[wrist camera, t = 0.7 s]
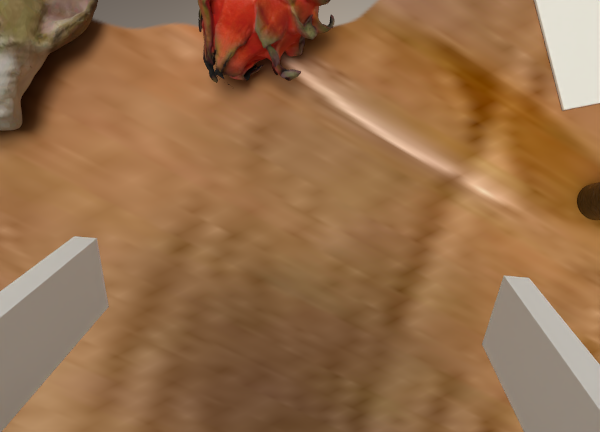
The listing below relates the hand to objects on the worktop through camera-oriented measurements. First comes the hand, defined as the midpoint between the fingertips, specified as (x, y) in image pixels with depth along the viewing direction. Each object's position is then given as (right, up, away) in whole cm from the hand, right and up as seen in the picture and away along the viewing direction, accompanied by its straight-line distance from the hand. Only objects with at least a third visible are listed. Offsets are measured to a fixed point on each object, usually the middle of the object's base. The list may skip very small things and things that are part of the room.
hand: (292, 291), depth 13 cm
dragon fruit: (-2, +16, +17) cm, 23 cm away
